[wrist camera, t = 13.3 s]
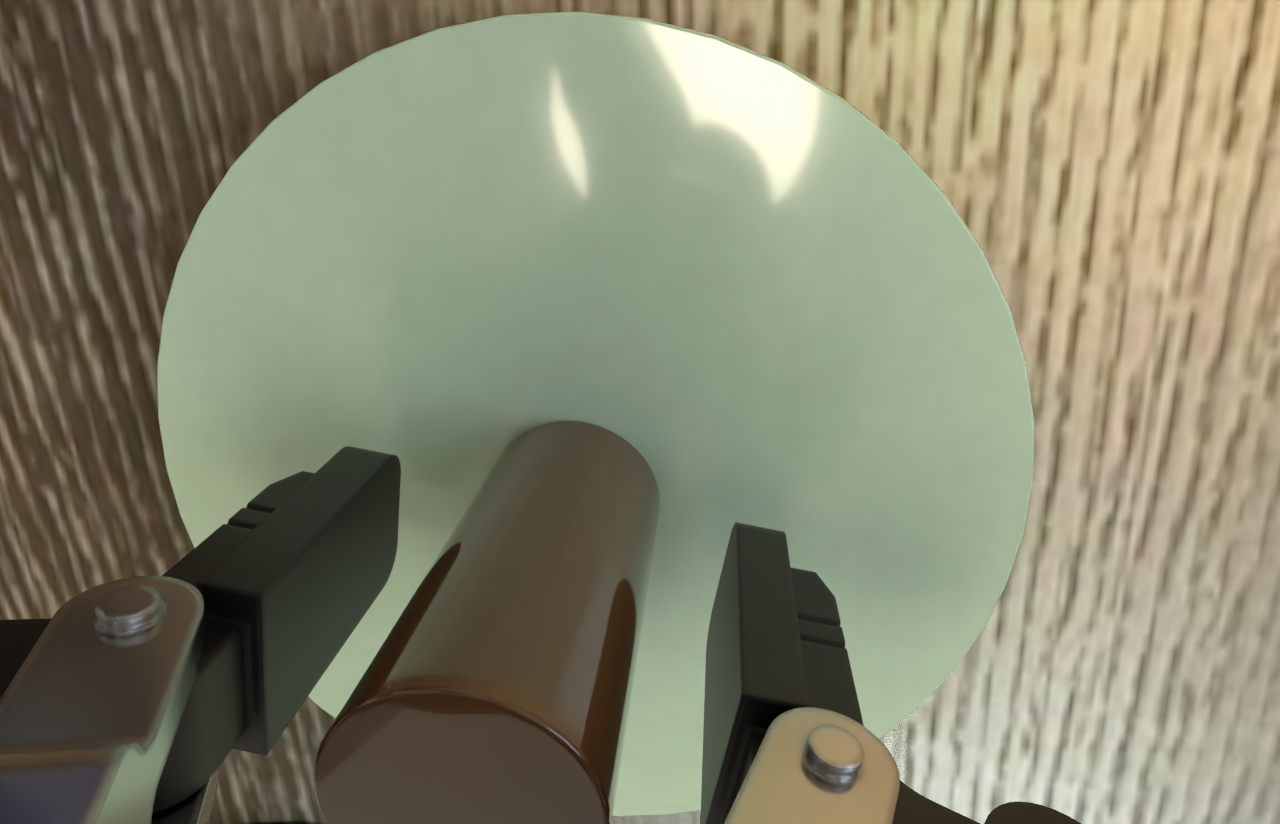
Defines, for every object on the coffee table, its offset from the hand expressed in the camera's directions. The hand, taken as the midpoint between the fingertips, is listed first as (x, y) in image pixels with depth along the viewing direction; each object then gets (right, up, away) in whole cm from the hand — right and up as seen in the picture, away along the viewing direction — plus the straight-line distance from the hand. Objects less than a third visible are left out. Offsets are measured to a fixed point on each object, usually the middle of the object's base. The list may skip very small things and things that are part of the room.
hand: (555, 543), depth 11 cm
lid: (0, +1, +2) cm, 2 cm away
